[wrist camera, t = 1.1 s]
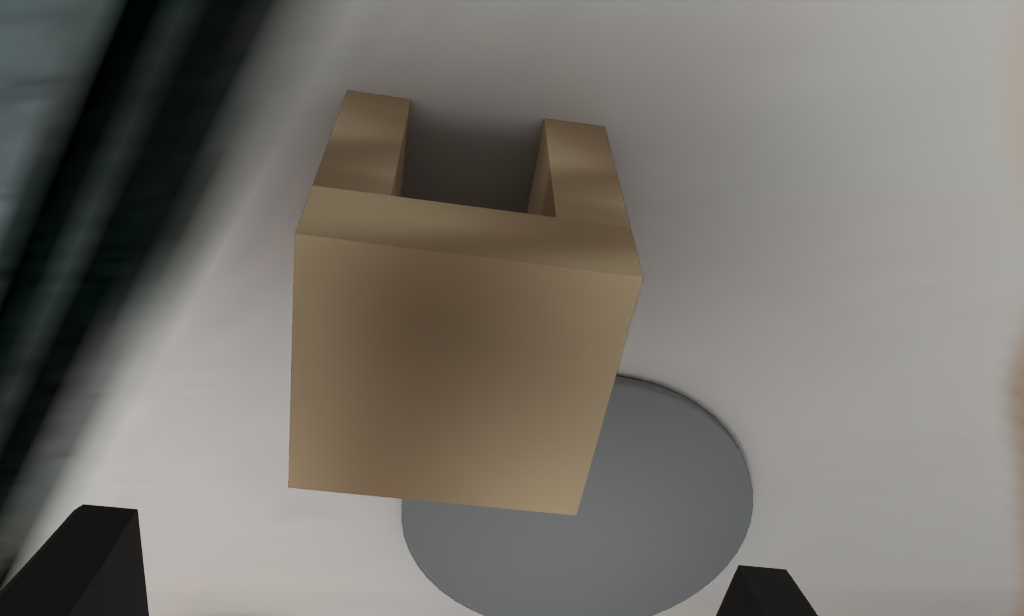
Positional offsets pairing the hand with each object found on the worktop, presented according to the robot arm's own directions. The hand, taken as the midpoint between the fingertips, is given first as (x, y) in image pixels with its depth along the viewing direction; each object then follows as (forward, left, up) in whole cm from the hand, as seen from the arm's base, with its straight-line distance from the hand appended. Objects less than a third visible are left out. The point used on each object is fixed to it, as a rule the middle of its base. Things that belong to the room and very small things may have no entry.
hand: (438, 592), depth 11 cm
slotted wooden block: (0, 0, -9) cm, 9 cm away
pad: (-4, +8, -9) cm, 13 cm away
